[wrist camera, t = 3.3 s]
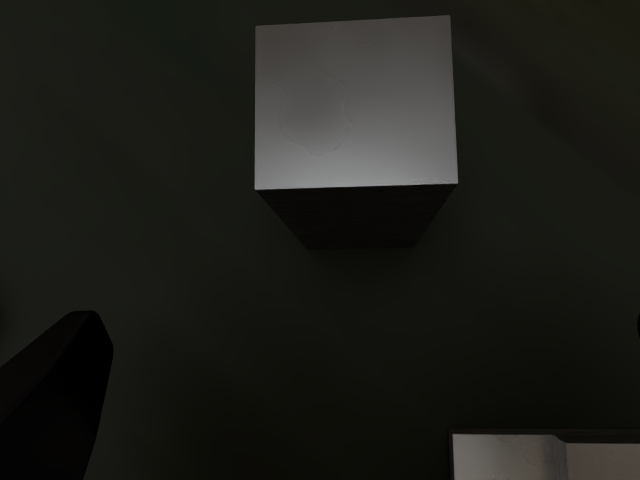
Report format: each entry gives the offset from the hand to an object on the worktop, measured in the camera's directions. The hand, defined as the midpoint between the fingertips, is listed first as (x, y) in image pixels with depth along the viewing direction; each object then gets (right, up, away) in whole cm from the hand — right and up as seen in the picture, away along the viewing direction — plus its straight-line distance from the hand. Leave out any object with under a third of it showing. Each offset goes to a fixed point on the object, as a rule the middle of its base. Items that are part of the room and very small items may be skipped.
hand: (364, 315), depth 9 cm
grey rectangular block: (+1, +3, +12) cm, 12 cm away
